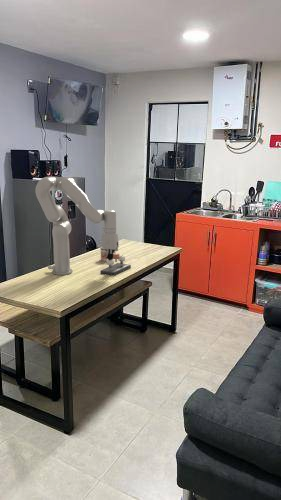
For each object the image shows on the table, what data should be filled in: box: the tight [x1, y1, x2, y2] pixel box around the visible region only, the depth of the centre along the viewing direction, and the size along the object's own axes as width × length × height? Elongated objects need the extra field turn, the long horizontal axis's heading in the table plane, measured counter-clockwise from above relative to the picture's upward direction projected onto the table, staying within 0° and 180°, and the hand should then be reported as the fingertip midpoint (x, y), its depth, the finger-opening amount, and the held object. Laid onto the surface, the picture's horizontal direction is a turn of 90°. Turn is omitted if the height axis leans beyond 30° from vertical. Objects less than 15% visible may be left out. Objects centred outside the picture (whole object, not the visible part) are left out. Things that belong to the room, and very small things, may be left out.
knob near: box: [106, 259, 115, 268], centre depth 238 cm, size 4×4×5 cm
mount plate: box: [100, 262, 132, 277], centre depth 245 cm, size 21×10×2 cm, turn 152°
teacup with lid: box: [100, 246, 117, 262], centre depth 269 cm, size 12×9×12 cm
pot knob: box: [113, 252, 120, 263], centre depth 243 cm, size 4×4×5 cm
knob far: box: [117, 255, 126, 264], centre depth 250 cm, size 4×4×5 cm
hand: (110, 259), depth 237 cm, fingers closed
